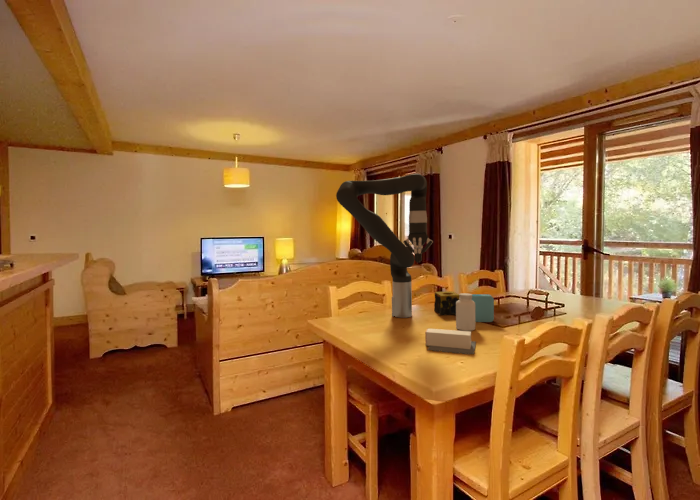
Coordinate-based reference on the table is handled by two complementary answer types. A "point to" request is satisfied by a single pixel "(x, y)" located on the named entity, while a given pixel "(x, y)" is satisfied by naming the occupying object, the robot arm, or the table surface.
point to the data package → (483, 307)
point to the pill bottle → (465, 312)
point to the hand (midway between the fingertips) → (418, 262)
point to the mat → (454, 349)
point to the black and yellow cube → (446, 302)
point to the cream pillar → (448, 338)
